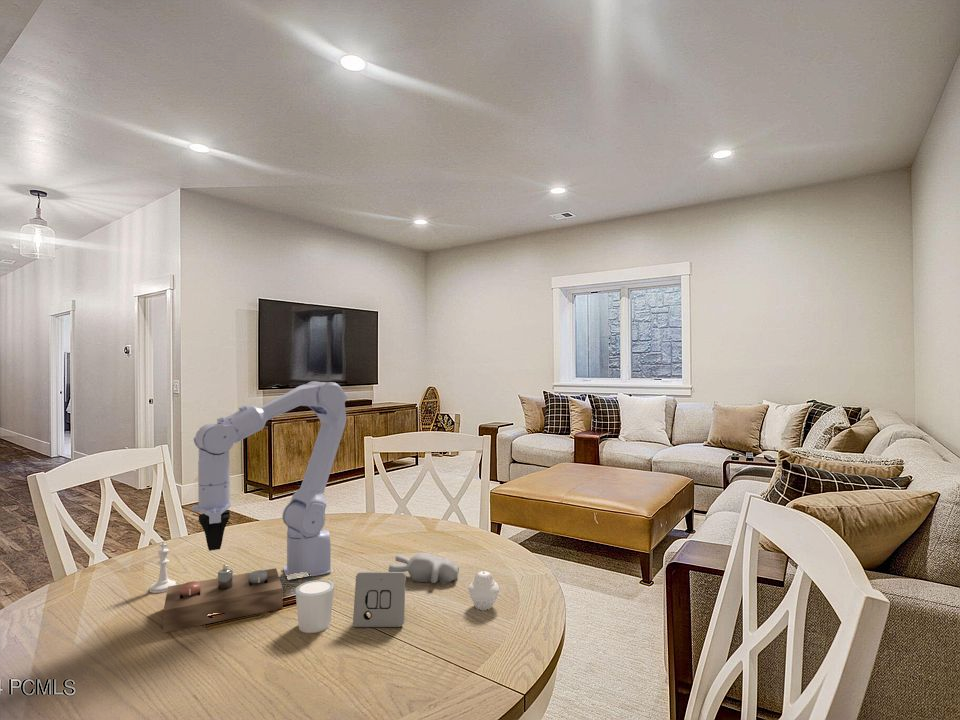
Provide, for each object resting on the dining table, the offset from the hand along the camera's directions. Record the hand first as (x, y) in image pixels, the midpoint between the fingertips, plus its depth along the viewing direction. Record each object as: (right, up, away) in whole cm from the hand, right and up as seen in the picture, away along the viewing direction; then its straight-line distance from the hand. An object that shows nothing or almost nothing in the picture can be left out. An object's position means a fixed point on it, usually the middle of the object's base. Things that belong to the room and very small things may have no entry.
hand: (214, 549), depth 106 cm
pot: (+4, -6, -4) cm, 8 cm away
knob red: (-1, -10, -7) cm, 12 cm away
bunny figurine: (+42, -11, +10) cm, 45 cm away
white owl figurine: (+55, -10, -3) cm, 56 cm away
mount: (+4, -10, -4) cm, 12 cm away
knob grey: (+10, -10, -1) cm, 14 cm away
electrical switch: (+36, -10, -9) cm, 38 cm away
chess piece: (-13, -10, +5) cm, 18 cm away
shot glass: (+24, -10, -11) cm, 28 cm away
